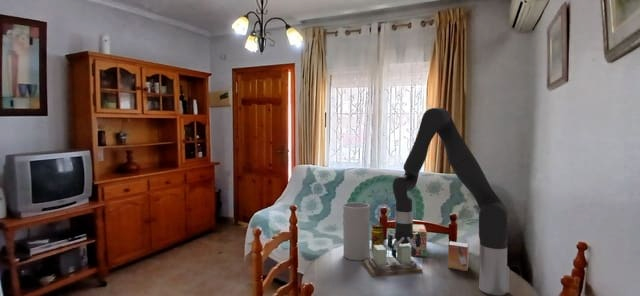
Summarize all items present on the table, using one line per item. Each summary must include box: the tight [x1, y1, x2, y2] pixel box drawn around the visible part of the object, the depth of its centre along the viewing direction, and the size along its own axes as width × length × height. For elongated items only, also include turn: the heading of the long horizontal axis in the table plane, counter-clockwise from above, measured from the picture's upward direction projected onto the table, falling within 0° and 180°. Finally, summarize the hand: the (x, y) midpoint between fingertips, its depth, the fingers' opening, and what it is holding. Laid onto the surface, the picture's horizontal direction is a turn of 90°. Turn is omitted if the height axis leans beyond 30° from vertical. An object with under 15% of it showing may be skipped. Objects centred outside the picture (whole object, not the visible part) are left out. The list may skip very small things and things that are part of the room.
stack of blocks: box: [410, 223, 428, 257], centre depth 172 cm, size 21×6×12 cm, turn 169°
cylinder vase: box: [342, 201, 371, 262], centre depth 161 cm, size 12×12×25 cm
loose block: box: [396, 244, 412, 264], centre depth 148 cm, size 4×6×8 cm, turn 8°
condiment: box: [370, 223, 387, 251], centre depth 174 cm, size 7×8×12 cm
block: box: [372, 244, 388, 266], centre depth 147 cm, size 4×6×8 cm, turn 8°
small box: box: [447, 240, 470, 272], centre depth 148 cm, size 8×6×10 cm
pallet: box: [362, 256, 423, 277], centre depth 148 cm, size 22×14×3 cm, turn 98°
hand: (403, 256), depth 148 cm, fingers open, 8 cm apart
